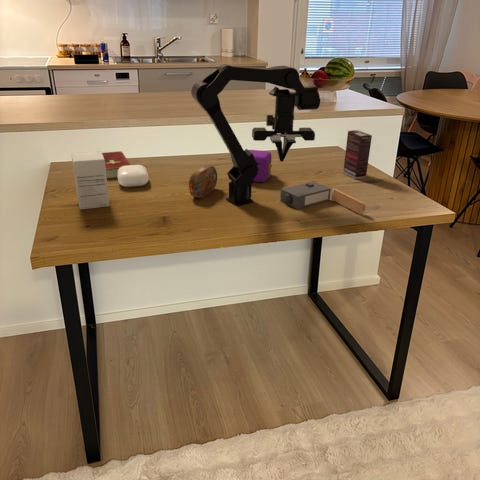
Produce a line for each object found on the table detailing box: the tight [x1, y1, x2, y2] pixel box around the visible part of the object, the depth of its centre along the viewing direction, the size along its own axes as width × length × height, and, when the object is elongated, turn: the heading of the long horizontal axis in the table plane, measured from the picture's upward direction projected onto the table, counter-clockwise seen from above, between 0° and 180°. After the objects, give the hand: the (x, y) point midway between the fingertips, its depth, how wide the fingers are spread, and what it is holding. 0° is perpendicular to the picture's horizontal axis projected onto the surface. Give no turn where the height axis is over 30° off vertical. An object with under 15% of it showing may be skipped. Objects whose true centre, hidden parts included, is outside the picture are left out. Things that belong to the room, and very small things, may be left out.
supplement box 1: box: [71, 151, 110, 210], centre depth 144 cm, size 9×9×15 cm
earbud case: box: [116, 164, 149, 188], centre depth 164 cm, size 10×13×5 cm
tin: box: [188, 165, 218, 199], centre depth 155 cm, size 15×3×8 cm, turn 155°
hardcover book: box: [102, 150, 132, 179], centre depth 178 cm, size 12×21×4 cm, turn 23°
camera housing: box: [279, 181, 332, 210], centre depth 152 cm, size 15×8×4 cm, turn 126°
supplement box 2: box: [342, 129, 373, 180], centre depth 174 cm, size 9×5×16 cm, turn 22°
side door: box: [331, 188, 366, 215], centre depth 148 cm, size 14×2×4 cm, turn 28°
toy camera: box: [248, 149, 273, 183], centre depth 171 cm, size 11×14×10 cm
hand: (281, 161), depth 150 cm, fingers closed
